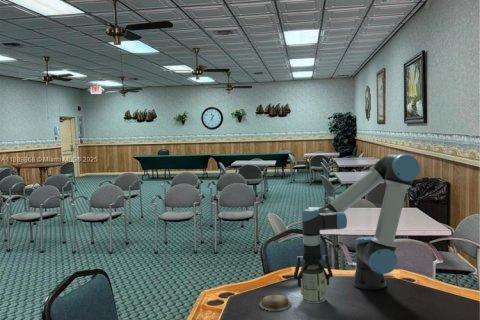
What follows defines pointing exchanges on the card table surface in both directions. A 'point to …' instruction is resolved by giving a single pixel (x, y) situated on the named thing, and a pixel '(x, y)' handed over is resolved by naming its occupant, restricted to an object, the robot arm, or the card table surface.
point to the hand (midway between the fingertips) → (313, 293)
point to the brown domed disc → (275, 303)
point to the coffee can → (313, 284)
